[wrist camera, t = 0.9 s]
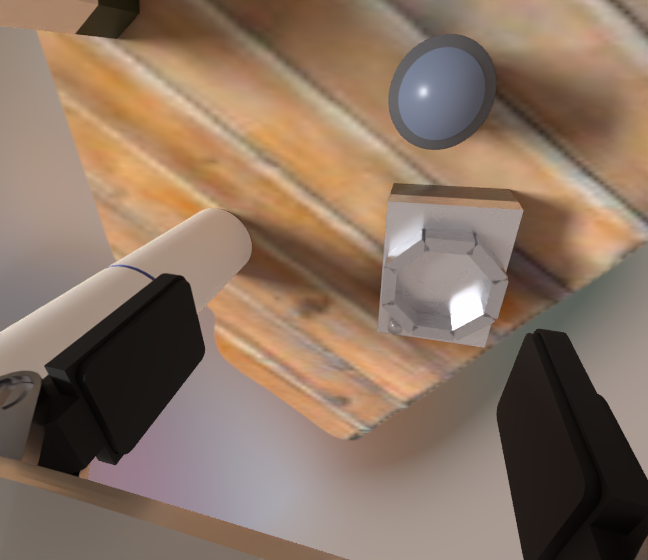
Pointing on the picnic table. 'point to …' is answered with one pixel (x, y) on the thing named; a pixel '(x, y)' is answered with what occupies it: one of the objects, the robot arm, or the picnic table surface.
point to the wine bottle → (70, 16)
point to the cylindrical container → (130, 287)
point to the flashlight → (442, 91)
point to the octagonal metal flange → (446, 261)
